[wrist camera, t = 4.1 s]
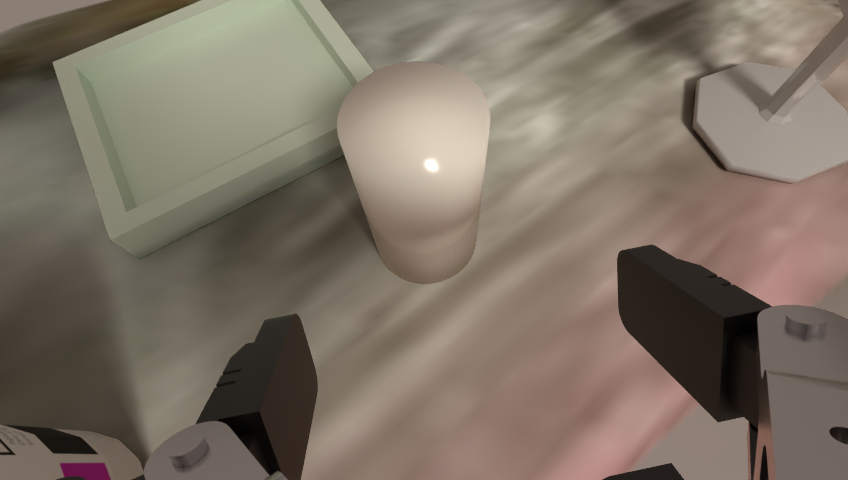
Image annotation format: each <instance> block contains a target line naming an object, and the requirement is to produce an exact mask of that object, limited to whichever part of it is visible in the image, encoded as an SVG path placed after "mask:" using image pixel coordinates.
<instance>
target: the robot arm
mask: <svg viewBox="0 0 848 480" xmlns="http://www.w3.org/2000/svg"><path fill="white" fill-rule="evenodd" d="M617 274H618V307H619V314H620V317H621V320H622V323H623V325H624V327H625V328H626V330H627V331H628V332H629V333H630V334H631V335H632V336H633V337H634V338H635V339H636V340H637V341H638V342H639V343H640V344H641V345H642V346H643V347H644V348H645V349H646V350H647V351H648V352H649V353H650V354H651V355H652V356H653V357H654V358H655V359H656V360H657V361H658V362H659V363H660V365H661V366H662V367H663V368H664V369H665V370H666V371H667V372H668V373H669V374H670V375H671V376H672V377H673V378H674V379H675V380H676V381H677V382H678V383H679V384H680V385H681V386H682V387H683V388H684V389H685V390H686V391H687V392H688V393H689V394H690V395H691V396H692V397H693V398H694V399H695V400H696V401H697V402H698V403H699V404H700V405H701V406H702V407H703V408H704V409H705V410H707V412H708V413H710V415H711V416H712V417H713V418H714V419H715V420H716V421H717V422H721V421H726V420H731V419H735V418H740V417H745V418H746V419H747V420H748V421H749V422H748V433H747V449H748V480H848V319H846V318H844V317H842V316H840V315H837V314H835V313H833V312H829V311H827V310H823V309H819V308H814V307H809V306H801V305H780V306H774V307H772V306H770V305H769V304H767V303H765V302H763V301H762V300H760V299H758V298H756V297H755V296H753V295H751V294H749V293H748V292H746V291H744V290H742V289H741V288H739V287H737V286H735V285H731V283H730V282H728V281H727V280H725V279H723V278H721V277H717V275H716V274H715V273H713V272H711V271H709V270H708V269H706V268H704V267H702V266H701V265H697V264H694V263H690V262H687V261H683V260H680V259H676V258H675V257H673V256H671V255H670V254H668V253H666V252H665V251H663V250H661V249H660V248H658V247H656V246H654V245H647V246H642V247H637V248H631V249H626V250H622V251H620V252H619V254H618V258H617ZM317 390H318V385H317V375H316V370H315V366H314V363H313V359H312V356H311V352H310V349H309V346H308V342H307V339H306V336H305V332H304V329H303V325H302V322H301V320H300V318H299V316H298V315H297V314H293V315H288V316H283V317H277V318H272V319H267V320H265V321H264V323H263V325H262V327H261V329H260V331H259V333H258V335H257V337H256V340H255V342H254V343H248V344H245V345H244V346H243V347H242V348H241V349H240V350H239V351H238V352H237V353H236V354H234V355H233V356H232V357H231V358H230V360H229V362H228V364H227V366H226V368H225V370H224V371H223V375H222V376H221V377H220V379H219V381H218V383H217V388H214V390H213V392H212V394H211V396H210V398H209V400H208V402H207V403H206V405H205V407H204V409H203V411H202V413H201V415H200V417H199V419H198V420H197V422H196V424H195V425H193V426H190V427H188V428H185V429H183V430H181V431H180V432H178V433H176V434H174V435H173V436H171V437H170V438H168V439H167V440H166V441H164V442H163V443H162V444H161V445H160V446H159V447H158V448H157V449H156V450H155V451H154V452H153V453H152V455H151V456H150V457H149V459H148V461H147V462H146V465H145V468H144V474H143V475H141V476H139V477H136V478H134V479H132V480H301V475H302V470H303V465H304V460H305V454H306V449H307V444H308V439H309V434H310V429H311V423H312V418H313V413H314V408H315V403H316V398H317ZM56 480H86V479H85V478H83V477H79V476H69V477H63V478H60V479H56ZM603 480H684V479H683V478H682V476H681V475H680V474H679V473H678V471H677V470H676V469H675V467H674V466H673V465H672V463H670V464H665V465H660V466H656V467H651V468H646V469H641V470H637V471H632V472H627V473H623V474H618V475H613V476H609V477H607V478H605V479H603Z"/></svg>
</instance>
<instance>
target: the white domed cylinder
mask: <svg viewBox="0 0 848 480" xmlns="http://www.w3.org/2000/svg"><path fill="white" fill-rule="evenodd" d="M489 129H490V111H489V106H488V103H487V101H486V98H485V96H484V95H483V93H482V91H481V90H480V89H479V87H478V86H477V85H476V84H475V83H474V82H473V81H472V80H471V79H470V78H468V77H467V76H466V75H464V74H462V73H461V72H459V71H457V70H455V69H453V68H450V67H448V66H445V65H441V64H437V63H432V62H403V63H398V64H394V65H390V66H387V67H384V68H382V69H379V70H377V71H375V72H373V73H371V74H370V75H368V76H367V77H365V78H364V79H362V80H361V81H360V82H359V83H357V84H356V85H355V86H354V87H353V88H352V90H351V91H350V92H349V93H348V95H347V96H346V98H345V99H344V101H343V103H342V105H341V107H340V110H339V114H338V119H337V132H338V138H339V141H340V144H341V147H342V150H343V152H344V155H345V158H346V161H347V164H348V167H349V169H350V172H351V175H352V178H353V181H354V184H355V187H356V189H357V192H358V195H359V198H360V201H361V204H362V206H363V209H364V212H365V215H366V218H367V221H368V224H369V226H370V229H371V232H372V235H373V238H374V241H375V243H376V246H377V249H378V252H379V255H380V257H381V259H382V261H383V262H384V264H385V265H386V267H387V268H388V269H389V270H390V271H391V272H393V273H394V274H395V275H397V276H398V277H400V278H402V279H404V280H407V281H410V282H413V283H419V284H431V283H437V282H441V281H444V280H447V279H449V278H451V277H453V276H454V275H456V274H457V273H459V272H460V271H461V270H462V269H463V268H464V267H465V266H466V265H467V264H468V262H469V261H470V259H471V257H472V255H473V253H474V250H475V246H476V240H477V231H478V222H479V214H480V205H481V197H482V188H483V180H484V171H485V163H486V154H487V146H488V137H489Z"/></svg>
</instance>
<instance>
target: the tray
mask: <svg viewBox="0 0 848 480" xmlns="http://www.w3.org/2000/svg"><path fill="white" fill-rule="evenodd" d="M52 63H53V66H54V69H55V72H56V75H57V78H58V81H59V84H60V87H61V90H62V93H63V97H64V100H65V103H66V106H67V109H68V112H69V115H70V118H71V121H72V124H73V127H74V131H75V134H76V137H77V140H78V143H79V146H80V149H81V152H82V155H83V158H84V161H85V165H86V168H87V171H88V174H89V177H90V180H91V183H92V186H93V189H94V192H95V195H96V199H97V202H98V205H99V208H100V211H101V214H102V217H103V220H104V223H105V226H106V229H107V233H108V236H109V239H110V240H111V241H112V242H114V243H115V244H117V245H118V246H120V247H121V248H123V249H125V250H126V251H128V252H129V253H131V254H132V255H134V256H136V257H137V258H139V259H140V258H142V257H144V256H146V255H148V254H150V253H152V252H154V251H156V250H158V249H160V248H162V247H164V246H166V245H168V244H170V243H172V242H174V241H176V240H178V239H180V238H181V237H183V236H185V235H187V234H189V233H191V232H193V231H195V230H197V229H199V228H201V227H203V226H205V225H207V224H209V223H211V222H213V221H215V220H217V219H219V218H221V217H223V216H225V215H227V214H229V213H231V212H233V211H235V210H237V209H239V208H241V207H243V206H245V205H247V204H248V203H250V202H252V201H254V200H256V199H258V198H260V197H262V196H264V195H266V194H268V193H270V192H272V191H274V190H276V189H278V188H280V187H282V186H284V185H286V184H288V183H290V182H292V181H294V180H296V179H298V178H300V177H302V176H304V175H306V174H308V173H310V172H312V171H314V170H315V169H317V168H319V167H321V166H323V165H325V164H327V163H329V162H331V161H333V160H335V159H337V158H339V157H341V156H343V155H344V152H343V150H342V147H341V144H340V141H339V138H338V132H337V119H338V114H339V110H340V107H341V105H342V103H343V101H344V99H345V98H346V96H347V95H348V93H349V92H350V91H351V90H352V88H353V87H354V86H355V85H356V84H357V83H359V82H360V81H361V80H362V79H364V78H365V77H367V76H368V75H370V74H371V73H373V72H374V71H373V70H372V69H371V67H370V66H369V65H368V63H367V62H366V61H365V59H364V58H363V57H362V55H361V54H360V53H359V51H358V50H357V49H356V47H355V46H354V45H353V43H352V42H351V41H350V39H349V38H348V37H347V36H346V34H345V33H344V32H343V30H342V29H341V28H340V26H339V25H338V24H337V22H336V21H335V20H334V18H333V17H332V16H331V14H330V13H329V12H328V10H327V9H326V8H325V6H324V5H323V4H322V2H321V1H320V0H201V1H199V2H197V3H194V4H192V5H189V6H187V7H184V8H182V9H180V10H177V11H175V12H172V13H170V14H168V15H165V16H163V17H160V18H158V19H156V20H153V21H151V22H148V23H146V24H143V25H141V26H139V27H136V28H134V29H131V30H129V31H127V32H124V33H122V34H119V35H117V36H115V37H112V38H110V39H107V40H105V41H102V42H100V43H98V44H95V45H93V46H90V47H88V48H86V49H83V50H81V51H78V52H76V53H74V54H71V55H69V56H66V57H64V58H61V59H59V60H57V61H54V62H52Z"/></svg>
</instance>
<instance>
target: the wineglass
mask: <svg viewBox="0 0 848 480" xmlns="http://www.w3.org/2000/svg"><path fill="white" fill-rule="evenodd" d="M838 2H839V4H840V7H841V10H842V13H843V15H844V17H843V18H842V19H841V20H840V21H839V22H838V23H837V24H836V26H835V27H834V28H833V29H832V30H831V31H830V32H829V33H828V34H827V36H826V37H825V38H824V39H823V40H822V41H821V42H820V43H819V45H818V46H817V47H816V48H815V49H814V50H813V51H812V52H811V53H810V55H809V56H808V57H807V58H806V59H805V60H804V61H803V62H802V63H801V65H800V66H799V67H798V68H797V69H796V70H794V69H788V68H782V67H776V66H770V65H764V64H758V63H752V62H746V63H743V64H740V65H737V66H734V67H731V68H729V69H726V70H723V71H720V72H717V73H714V74H711V75H708V76H705V77H703V78H700V79H699V80H698V81H697V82H696V86H695V100H694V113H693V126H692V128H693V129H694V130H695V131H696V133H697V134H698V135H699V136H700V138H701V139H702V140H703V141H704V143H705V144H706V145H707V146H708V147H709V149H710V150H711V151H712V152H713V154H714V155H715V156H716V157H717V159H718V160H719V161H720V162H721V164H722V165H723V166H724V167H725V169H726V170H727V171H730V172H735V173H740V174H745V175H750V176H755V177H760V178H765V179H770V180H775V181H780V182H785V183H790V184H792V183H795V182H798V181H800V180H803V179H806V178H808V177H811V176H813V175H816V174H819V173H821V172H824V171H826V170H829V169H832V168H834V167H837V166H839V165H842V164H845V163H847V162H848V118H847V111H846V110H845V109H844V108H843V107H842V106H841V105H840V104H839V103H838V102H837V101H836V100H835V99H834V98H833V97H832V96H831V95H830V94H829V93H828V92H827V91H826V90H825V89H824V88H823V87H822V86H821V84H822V83H823V82H824V81H825V80H826V79H827V78H828V77H829V76H830V75H831V74H832V73H833V71H834V70H835V69H836V68H837V67H838V66H839V65H840V64H841V63H842V62H843V61H844V60H845V59H846V58H847V57H848V0H838Z"/></svg>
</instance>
